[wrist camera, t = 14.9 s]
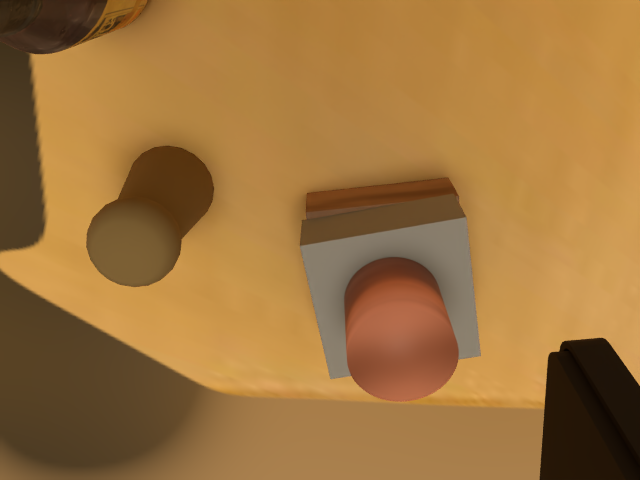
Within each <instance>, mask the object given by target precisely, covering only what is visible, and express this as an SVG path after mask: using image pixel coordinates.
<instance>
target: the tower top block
mask: <svg viewBox="0 0 640 480" xmlns="http://www.w3.org/2000/svg"><path fill="white" fill-rule="evenodd" d="M300 249H301V253H302V258H303V262H304V266H305V271H306V275H307V279H308V284H309V288H310V292H311V297H312V301H313V305H314V310H315V314H316V318H317V323H318V327H319V331H320V336H321V340H322V344H323V349H324V353H325V357H326V362H327V366H328V370H329V375H330V379H335V378H341V377H348V376H351V374H350V372H349V369H348V365H347V353H346V331H345V310H344V295H345V290H346V288H347V285H348V283H349V281H350V280H351V278H352V277H353V275H354V274H355V273H356V272H357V271H358V270H360V269H361V268H362V267H363V266H365V265H367V264H368V263H371V262H373V261H375V260H378V259H382V258H389V257H400V258H406V259H410V260H413V261H415V262H418V263H419V264H421V265H423V266H424V267H425V268H427V269H428V270H429V271H430V272H431V273H432V275H433V276H434V277H435V279H436V281H437V283H438V286H439V289H440V292H441V295H442V298H443V301H444V304H445V307H446V310H447V313H448V316H449V319H450V322H451V325H452V328H453V331H454V334H455V337H456V340H457V343H458V349H459V357H458V359H465V358H471V357H478V356H481V353H480V343H479V334H478V324H477V315H476V305H475V295H474V286H473V276H472V266H471V257H470V247H469V238H468V228H467V218H466V216H465V214H464V212H463V210H462V208H461V206H460V205H459V203H458V201H457V199H456V197H455V195H454V194H448V195H442V196H437V197H431V198H425V199H420V200H414V201H408V202H403V203H397V204H392V205H386V206H380V207H375V208H369V209H363V210H358V211H352V212H347V213H341V214H335V215H330V216H324V217H319V218H313V219H307V220H302V228H301V239H300Z"/></svg>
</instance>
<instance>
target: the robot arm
mask: <svg viewBox="0 0 640 480" xmlns="http://www.w3.org/2000/svg"><path fill="white" fill-rule="evenodd" d="M540 480H640V386H639V384H638V383H637V382H636V380H635V379H634V377H633V376H632V374H631V373H630V372H629V370H628V369H627V367H626V366H625V365H624V363H623V362H622V360H621V359H620V358H619V356H618V355H617V353H616V352H615V351H614V349H613V348H612V346H611V345H610V344H609V342H608V341H607V340H606V339H604V338H594V339H582V340H571V341H564V342H562V344H561V346H560V351H559V352H551V353H550V354H549V357H548V367H547V382H546V396H545V410H544V426H543V439H542V454H541V468H540Z"/></svg>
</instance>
